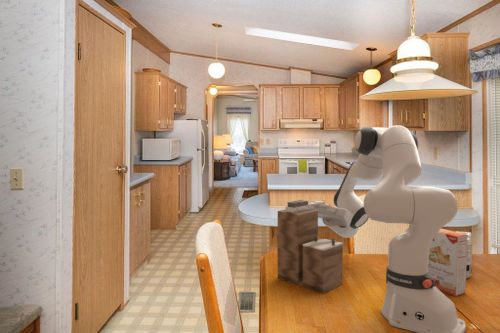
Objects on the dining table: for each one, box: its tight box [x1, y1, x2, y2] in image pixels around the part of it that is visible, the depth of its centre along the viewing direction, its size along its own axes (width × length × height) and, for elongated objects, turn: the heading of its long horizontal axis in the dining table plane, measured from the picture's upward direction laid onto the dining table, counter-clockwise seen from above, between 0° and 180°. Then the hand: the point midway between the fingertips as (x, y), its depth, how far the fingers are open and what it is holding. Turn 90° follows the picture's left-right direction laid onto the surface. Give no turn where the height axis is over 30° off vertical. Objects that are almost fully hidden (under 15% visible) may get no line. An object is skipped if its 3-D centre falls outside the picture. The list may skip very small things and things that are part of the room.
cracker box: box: [428, 228, 468, 297], centre depth 133 cm, size 14×6×21 cm, turn 27°
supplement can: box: [466, 237, 473, 280], centre depth 145 cm, size 8×8×15 cm
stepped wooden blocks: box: [277, 209, 344, 294], centre depth 140 cm, size 21×12×26 cm, turn 44°
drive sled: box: [284, 199, 326, 213], centre depth 146 cm, size 4×20×4 cm, turn 135°
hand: (316, 205), depth 151 cm, fingers open, 8 cm apart
